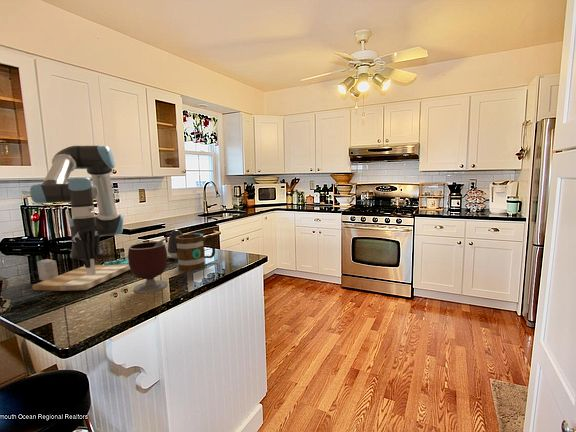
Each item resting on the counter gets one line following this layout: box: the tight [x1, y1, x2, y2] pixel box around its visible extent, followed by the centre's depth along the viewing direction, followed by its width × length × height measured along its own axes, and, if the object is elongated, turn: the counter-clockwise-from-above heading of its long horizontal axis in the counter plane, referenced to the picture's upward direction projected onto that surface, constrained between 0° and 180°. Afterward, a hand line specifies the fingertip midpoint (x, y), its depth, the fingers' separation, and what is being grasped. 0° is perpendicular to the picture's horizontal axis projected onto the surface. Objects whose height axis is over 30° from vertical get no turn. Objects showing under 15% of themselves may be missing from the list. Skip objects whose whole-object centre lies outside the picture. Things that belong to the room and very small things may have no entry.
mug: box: [176, 233, 216, 272], centre depth 151 cm, size 20×14×15 cm
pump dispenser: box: [165, 229, 184, 259], centre depth 167 cm, size 10×10×15 cm
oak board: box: [31, 264, 109, 292], centre depth 138 cm, size 28×12×2 cm, turn 171°
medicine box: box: [36, 258, 59, 282], centre depth 137 cm, size 8×4×9 cm, turn 59°
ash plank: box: [59, 264, 131, 292], centre depth 136 cm, size 28×12×2 cm, turn 171°
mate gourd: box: [127, 237, 169, 294], centre depth 122 cm, size 16×14×20 cm
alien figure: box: [103, 258, 129, 265], centre depth 164 cm, size 20×2×20 cm
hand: (91, 274), depth 126 cm, fingers closed
